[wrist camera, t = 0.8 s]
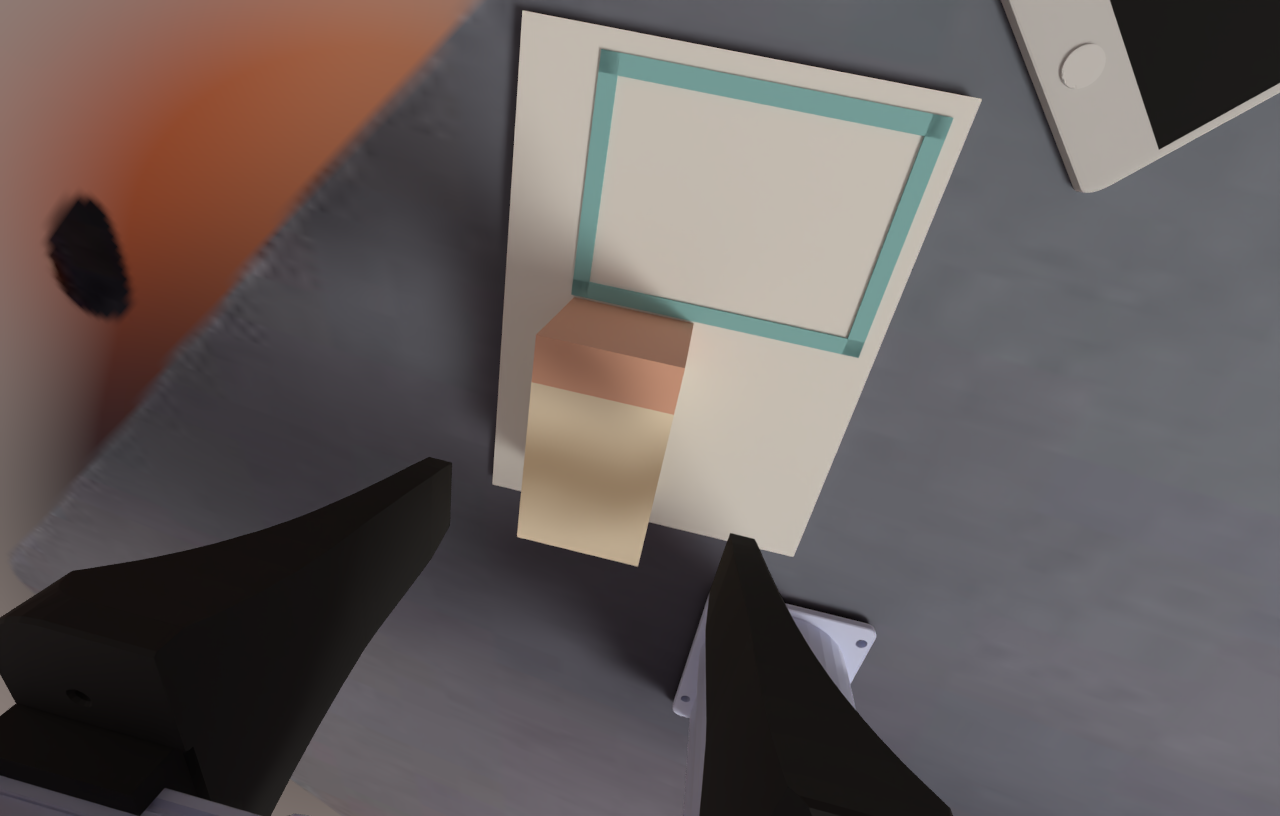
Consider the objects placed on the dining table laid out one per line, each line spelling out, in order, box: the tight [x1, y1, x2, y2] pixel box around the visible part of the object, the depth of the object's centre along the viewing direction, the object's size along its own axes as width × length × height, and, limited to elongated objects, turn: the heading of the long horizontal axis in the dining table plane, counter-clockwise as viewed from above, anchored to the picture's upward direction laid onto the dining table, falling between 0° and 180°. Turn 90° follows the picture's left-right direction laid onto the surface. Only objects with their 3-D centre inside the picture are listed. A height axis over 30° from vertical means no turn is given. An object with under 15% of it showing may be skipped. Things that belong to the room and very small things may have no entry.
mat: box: [492, 10, 982, 557], centre depth 20 cm, size 18×14×1 cm
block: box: [517, 297, 694, 567], centre depth 20 cm, size 8×5×4 cm, turn 170°
